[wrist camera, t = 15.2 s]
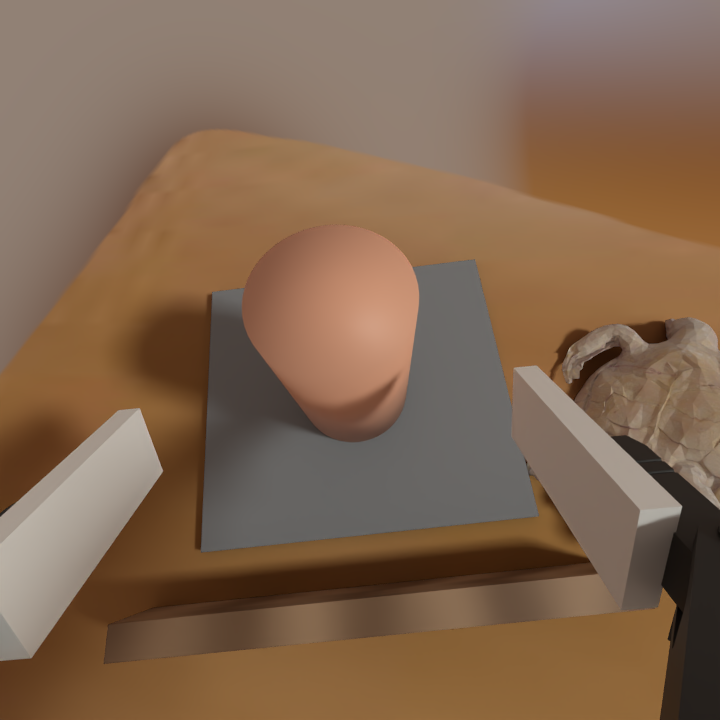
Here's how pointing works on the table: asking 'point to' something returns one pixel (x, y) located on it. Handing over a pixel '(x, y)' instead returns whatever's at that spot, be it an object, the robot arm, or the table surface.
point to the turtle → (658, 395)
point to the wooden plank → (360, 612)
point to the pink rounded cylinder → (336, 326)
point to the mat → (372, 457)
